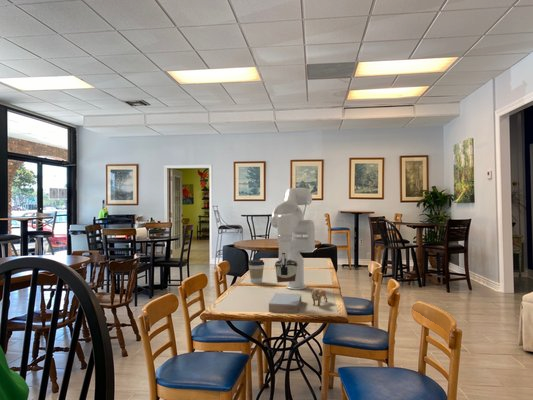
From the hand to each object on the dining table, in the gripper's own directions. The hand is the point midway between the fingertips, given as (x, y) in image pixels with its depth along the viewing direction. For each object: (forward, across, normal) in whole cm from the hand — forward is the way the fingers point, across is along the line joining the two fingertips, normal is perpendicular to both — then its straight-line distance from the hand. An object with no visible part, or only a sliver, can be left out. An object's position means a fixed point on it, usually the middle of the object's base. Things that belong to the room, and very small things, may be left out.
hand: (285, 273), depth 177 cm
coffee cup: (+17, -51, -27) cm, 60 cm away
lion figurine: (+17, -6, +17) cm, 25 cm away
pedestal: (+17, 0, 0) cm, 17 cm away
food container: (+4, -2, 0) cm, 4 cm away
